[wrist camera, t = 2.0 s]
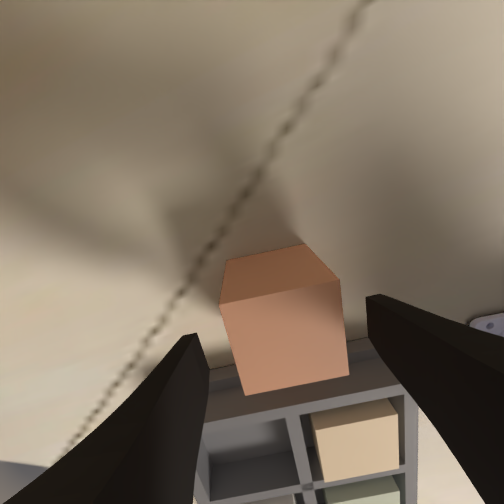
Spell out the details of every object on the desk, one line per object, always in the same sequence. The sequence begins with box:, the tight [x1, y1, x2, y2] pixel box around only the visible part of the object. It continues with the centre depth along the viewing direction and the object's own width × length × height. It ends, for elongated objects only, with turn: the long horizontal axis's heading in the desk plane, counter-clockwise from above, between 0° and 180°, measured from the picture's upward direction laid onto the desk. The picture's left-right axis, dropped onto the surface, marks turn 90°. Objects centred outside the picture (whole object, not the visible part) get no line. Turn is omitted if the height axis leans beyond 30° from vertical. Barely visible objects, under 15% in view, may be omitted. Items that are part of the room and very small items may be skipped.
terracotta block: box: [219, 244, 349, 396], centre depth 12 cm, size 5×5×5 cm
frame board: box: [193, 338, 418, 504], centre depth 16 cm, size 17×16×4 cm
